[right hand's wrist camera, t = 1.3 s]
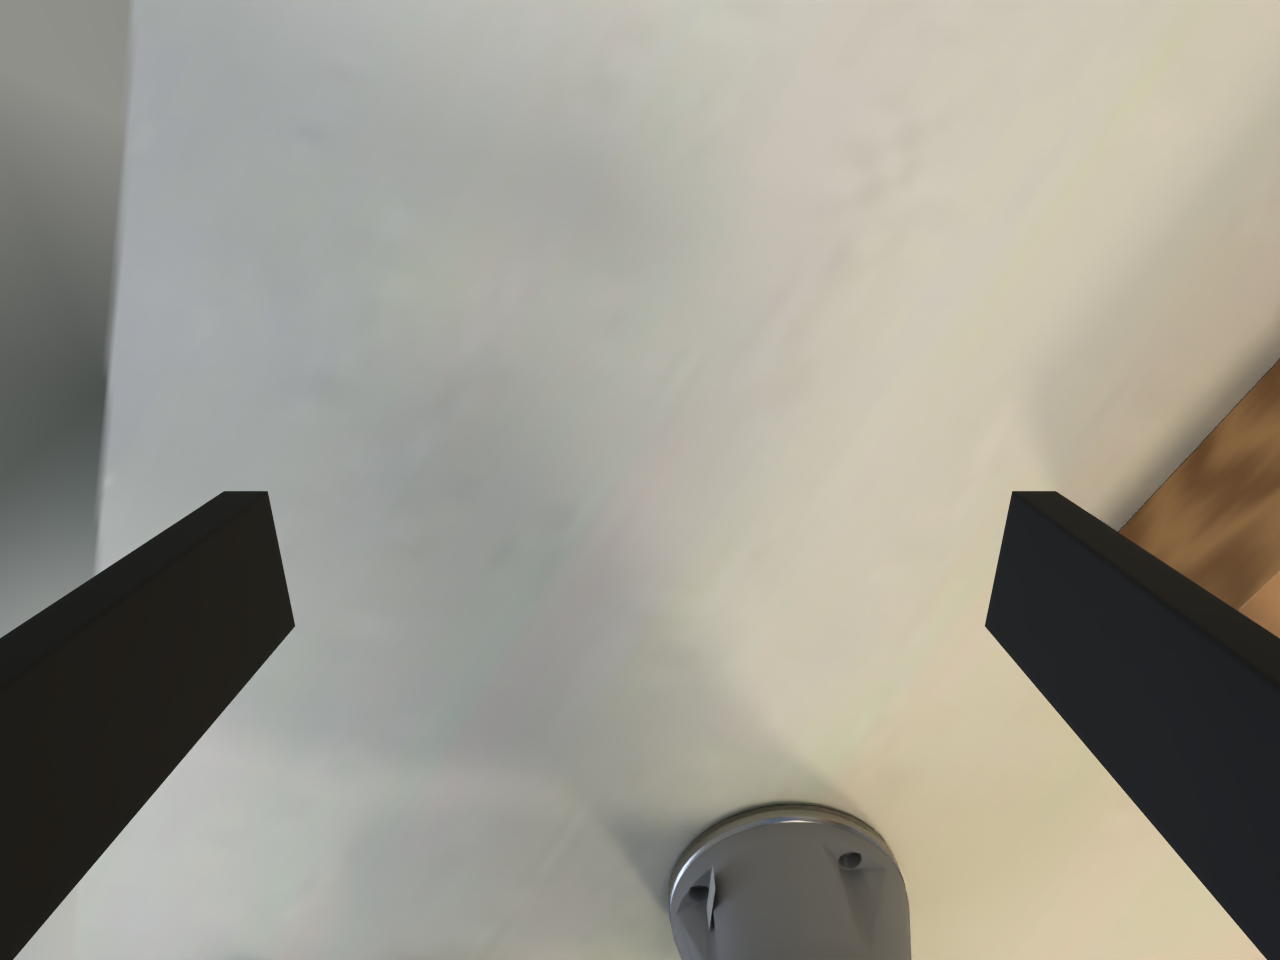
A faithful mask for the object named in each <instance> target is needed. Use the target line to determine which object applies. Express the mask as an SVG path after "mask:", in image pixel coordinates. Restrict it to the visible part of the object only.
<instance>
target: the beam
mask: <svg viewBox="0 0 1280 960" xmlns="http://www.w3.org/2000/svg"><path fill="white" fill-rule="evenodd" d="M1119 533H1120V534H1122V535H1123V536H1125V537H1126V538H1128V539H1129V540H1131V541H1132V542H1134V543H1135V544H1137V545H1138V546H1140V547H1141V548H1143V549H1144V550H1146V551H1147V552H1149V553H1150V554H1152V555H1154V556H1155V557H1157V558H1158V559H1160V560H1161V561H1163V562H1164V563H1166V564H1167V565H1169V566H1170V567H1172V568H1173V569H1175V570H1176V571H1178V572H1179V573H1181V574H1182V575H1184V576H1185V577H1187V578H1189V579H1190V580H1192V581H1193V582H1195V583H1196V584H1198V585H1199V586H1201V587H1202V588H1204V589H1205V590H1207V591H1208V592H1210V593H1211V594H1213V595H1214V596H1216V597H1217V598H1219V599H1221V600H1222V601H1224V602H1225V603H1227V604H1228V605H1230V606H1231V607H1233V608H1234V609H1236V610H1237V611H1239V612H1240V613H1242V614H1243V615H1245V616H1246V617H1248V618H1249V619H1251V620H1252V621H1254V622H1256V623H1257V624H1259V625H1260V626H1262V627H1263V628H1265V629H1266V630H1268V631H1269V632H1271V633H1272V634H1274V635H1275V636H1277V637H1278V638H1280V360H1279V361H1278V362H1277V363H1276V364H1275V365H1274V366H1273V367H1272V368H1271V370H1270V371H1269V372H1268V373H1267V374H1266V375H1265V376H1264V377H1263V378H1262V379H1261V380H1260V381H1259V382H1258V383H1257V385H1256V386H1255V387H1254V388H1253V389H1252V390H1251V391H1250V392H1249V393H1248V394H1247V395H1246V396H1245V397H1244V398H1243V400H1242V401H1241V402H1240V403H1239V404H1238V405H1237V406H1236V407H1235V408H1234V409H1233V410H1232V411H1231V412H1230V413H1229V415H1228V416H1227V417H1226V418H1225V419H1224V420H1223V421H1222V422H1221V423H1220V424H1219V425H1218V426H1217V427H1216V428H1215V430H1214V431H1213V432H1212V433H1211V434H1210V435H1209V436H1208V437H1207V438H1206V439H1205V440H1204V441H1203V442H1202V443H1201V445H1200V446H1199V447H1198V448H1197V449H1196V450H1195V451H1194V452H1193V453H1192V454H1191V455H1190V456H1189V457H1188V458H1187V460H1186V461H1185V462H1184V463H1183V464H1182V465H1181V466H1180V467H1179V468H1178V469H1177V470H1176V471H1175V472H1174V473H1173V474H1172V476H1171V477H1170V478H1169V479H1168V480H1167V481H1166V482H1165V483H1164V484H1163V485H1162V486H1161V487H1160V488H1159V489H1158V491H1157V492H1156V493H1155V494H1154V495H1153V496H1152V497H1151V498H1150V499H1149V500H1148V501H1147V502H1146V503H1145V504H1144V506H1143V507H1142V508H1141V509H1140V510H1139V511H1138V512H1137V513H1136V514H1135V515H1134V516H1133V517H1132V518H1131V519H1130V521H1129V522H1128V523H1127V524H1126V525H1125V526H1124V527H1123V528H1122V529H1121V530H1120V531H1119Z"/></svg>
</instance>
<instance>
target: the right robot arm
mask: <svg viewBox="0 0 1280 960" xmlns="http://www.w3.org/2000/svg"><path fill="white" fill-rule="evenodd" d="M294 627H295V623H294V618H293V613H292V609H291V604H290V599H289V594H288V589H287V584H286V579H285V574H284V569H283V564H282V559H281V555H280V550H279V545H278V540H277V535H276V530H275V525H274V520H273V515H272V510H271V505H270V501H269V496H268V491H224V492H222V493H221V494H219V495H218V496H216V497H215V498H213V499H212V500H210V501H209V502H207V503H206V504H204V505H203V506H201V507H200V508H198V509H197V510H195V511H193V512H192V513H190V514H189V515H187V516H186V517H184V518H183V519H181V520H180V521H178V522H177V523H175V524H174V525H172V526H171V527H169V528H168V529H166V530H165V531H163V532H162V533H160V534H158V535H157V536H155V537H154V538H152V539H151V540H149V541H148V542H146V543H145V544H143V545H142V546H140V547H139V548H137V549H136V550H134V551H133V552H131V553H130V554H128V555H126V556H125V557H123V558H122V559H120V560H119V561H117V562H116V563H114V564H113V565H111V566H110V567H108V568H107V569H105V570H104V571H102V572H101V573H99V574H98V575H96V576H95V577H93V578H91V579H90V580H88V581H87V582H85V583H84V584H82V585H81V586H79V587H78V588H76V589H75V590H73V591H72V592H70V593H69V594H67V595H66V596H64V597H63V598H61V599H59V600H58V601H57V602H55V603H53V604H52V605H50V606H49V607H47V608H46V609H44V610H43V611H41V612H40V613H38V614H37V615H35V616H34V617H32V618H31V619H29V620H28V621H26V622H24V623H23V624H21V625H20V626H18V627H17V628H15V629H14V630H12V631H11V632H9V633H8V634H6V635H5V636H3V637H2V638H0V960H13V959H14V958H15V957H16V955H17V954H18V953H19V952H20V951H21V950H22V948H23V947H24V946H25V945H26V944H27V942H28V941H29V940H30V939H31V938H32V937H33V935H34V934H35V933H36V932H37V931H38V929H39V928H40V927H41V926H42V925H43V924H44V922H45V921H46V920H47V919H48V918H49V916H50V915H51V914H52V913H53V912H54V911H55V909H56V908H57V907H58V906H59V905H60V903H61V902H62V901H63V900H64V899H65V897H66V896H67V895H68V894H69V893H70V892H71V890H72V889H73V888H74V887H75V886H76V885H77V883H78V882H79V881H80V880H81V879H82V877H83V876H84V875H85V874H86V873H87V872H88V870H89V869H90V868H91V867H92V866H93V864H94V863H95V862H96V861H97V860H98V859H99V857H100V856H101V855H102V854H103V853H104V851H105V850H106V849H107V848H108V847H109V846H110V844H111V843H112V842H113V841H114V840H115V838H116V837H117V836H118V835H119V834H120V833H121V831H122V830H123V829H124V828H125V827H126V825H127V824H128V823H129V822H130V821H131V820H132V818H133V817H134V816H135V815H136V814H137V812H138V811H139V810H140V809H141V808H142V806H143V805H144V804H145V803H146V802H147V801H148V799H149V798H150V797H151V796H152V795H153V793H154V792H155V791H156V790H157V789H158V788H159V786H160V785H161V784H162V783H163V782H164V780H165V779H166V778H167V777H168V776H169V775H170V773H171V772H172V771H173V770H174V769H175V767H176V766H177V765H178V764H179V763H180V762H181V760H182V759H183V758H184V757H185V756H186V754H187V753H188V752H189V751H190V750H191V749H192V747H193V746H194V745H195V744H196V743H197V741H198V740H199V739H200V738H201V737H202V736H203V734H204V733H205V732H206V731H207V730H208V728H209V727H210V726H211V725H212V724H213V723H214V721H215V720H216V719H217V718H218V717H219V715H220V714H221V713H222V712H223V711H224V710H225V708H226V707H227V706H228V705H229V704H230V702H231V701H232V700H233V699H234V698H235V697H236V695H237V694H238V693H239V692H240V691H241V689H242V688H243V687H244V686H245V685H246V684H247V682H248V681H249V680H250V679H251V678H252V676H253V675H254V674H255V673H256V672H257V671H258V669H259V668H260V667H261V666H262V665H263V663H264V662H265V661H266V660H267V659H268V658H269V656H270V655H271V654H272V653H273V652H274V650H275V649H276V648H277V647H278V646H279V645H280V643H281V642H282V641H283V640H284V639H285V637H286V636H287V635H288V634H289V633H290V631H291V630H292V629H293V628H294ZM985 627H986V628H987V629H988V630H989V631H990V633H991V634H992V635H993V636H994V637H995V639H996V640H997V641H998V642H999V643H1000V645H1001V646H1002V647H1003V648H1004V649H1005V650H1006V652H1007V653H1008V654H1009V655H1010V656H1011V658H1012V659H1013V660H1014V661H1015V662H1016V663H1017V665H1018V666H1019V667H1020V668H1021V669H1022V671H1023V672H1024V673H1025V674H1026V675H1027V676H1028V678H1029V679H1030V680H1031V681H1032V682H1033V684H1034V685H1035V686H1036V687H1037V688H1038V689H1039V691H1040V692H1041V693H1042V694H1043V695H1044V697H1045V698H1046V699H1047V700H1048V701H1049V702H1050V704H1051V705H1052V706H1053V707H1054V708H1055V710H1056V711H1057V712H1058V713H1059V714H1060V715H1061V717H1062V718H1063V719H1064V720H1065V721H1066V723H1067V724H1068V725H1069V726H1070V727H1071V728H1072V730H1073V731H1074V732H1075V733H1076V734H1077V736H1078V737H1079V738H1080V739H1081V740H1082V741H1083V743H1084V744H1085V745H1086V746H1087V747H1088V749H1089V750H1090V751H1091V752H1092V753H1093V754H1094V756H1095V757H1096V758H1097V759H1098V760H1099V762H1100V763H1101V764H1102V765H1103V766H1104V767H1105V769H1106V770H1107V771H1108V772H1109V773H1110V775H1111V776H1112V777H1113V778H1114V779H1115V780H1116V782H1117V783H1118V784H1119V785H1120V786H1121V788H1122V789H1123V790H1124V791H1125V792H1126V793H1127V795H1128V796H1129V797H1130V798H1131V799H1132V801H1133V802H1134V803H1135V804H1136V805H1137V806H1138V808H1139V809H1140V810H1141V811H1142V812H1143V814H1144V815H1145V816H1146V817H1147V818H1148V820H1149V821H1150V822H1151V823H1152V824H1153V825H1154V827H1155V828H1156V829H1157V830H1158V831H1159V833H1160V834H1161V835H1162V836H1163V837H1164V838H1165V840H1166V841H1167V842H1168V843H1169V844H1170V846H1171V847H1172V848H1173V849H1174V850H1175V851H1176V853H1177V854H1178V855H1179V856H1180V857H1181V859H1182V860H1183V861H1184V862H1185V863H1186V864H1187V866H1188V867H1189V868H1190V869H1191V870H1192V872H1193V873H1194V874H1195V875H1196V876H1197V877H1198V879H1199V880H1200V881H1201V882H1202V883H1203V885H1204V886H1205V887H1206V888H1207V889H1208V890H1209V892H1210V893H1211V894H1212V895H1213V896H1214V898H1215V899H1216V900H1217V901H1218V902H1219V903H1220V905H1221V906H1222V907H1223V908H1224V909H1225V911H1226V912H1227V913H1228V914H1229V915H1230V916H1231V918H1232V919H1233V920H1234V921H1235V922H1236V924H1237V925H1238V926H1239V927H1240V928H1241V929H1242V931H1243V932H1244V933H1245V934H1246V935H1247V937H1248V938H1249V939H1250V940H1251V941H1252V942H1253V944H1254V945H1255V946H1256V947H1257V948H1258V950H1259V951H1260V952H1261V953H1262V954H1263V955H1264V957H1265V958H1266V959H1267V960H1280V638H1278V637H1277V636H1275V635H1274V634H1272V633H1271V632H1269V631H1268V630H1266V629H1265V628H1263V627H1262V626H1260V625H1259V624H1257V623H1256V622H1254V621H1252V620H1251V619H1249V618H1248V617H1246V616H1245V615H1243V614H1242V613H1240V612H1239V611H1237V610H1236V609H1234V608H1233V607H1231V606H1230V605H1228V604H1227V603H1225V602H1224V601H1222V600H1221V599H1219V598H1217V597H1216V596H1214V595H1213V594H1211V593H1210V592H1208V591H1207V590H1205V589H1204V588H1202V587H1201V586H1199V585H1198V584H1196V583H1195V582H1193V581H1192V580H1190V579H1189V578H1187V577H1185V576H1184V575H1182V574H1181V573H1179V572H1178V571H1176V570H1175V569H1173V568H1172V567H1170V566H1169V565H1167V564H1166V563H1164V562H1163V561H1161V560H1160V559H1158V558H1157V557H1155V556H1154V555H1152V554H1150V553H1149V552H1147V551H1146V550H1144V549H1143V548H1141V547H1140V546H1138V545H1137V544H1135V543H1134V542H1132V541H1131V540H1129V539H1128V538H1126V537H1125V536H1123V535H1122V534H1120V533H1119V532H1117V531H1115V530H1114V529H1112V528H1111V527H1109V526H1108V525H1106V524H1105V523H1103V522H1102V521H1100V520H1099V519H1097V518H1096V517H1094V516H1093V515H1091V514H1090V513H1088V512H1087V511H1085V510H1083V509H1082V508H1080V507H1079V506H1077V505H1076V504H1074V503H1073V502H1071V501H1070V500H1068V499H1067V498H1065V497H1064V496H1062V495H1061V494H1059V493H1058V492H1056V491H1012V496H1011V501H1010V505H1009V510H1008V515H1007V520H1006V525H1005V530H1004V535H1003V540H1002V545H1001V550H1000V555H999V559H998V564H997V569H996V574H995V579H994V584H993V589H992V594H991V599H990V604H989V609H988V613H987V618H986V623H985ZM669 911H670V921H671V926H672V932H673V936H674V940H675V943H676V946H677V949H678V951H679V954H680V957H681V959H682V960H911V938H910V914H909V902H908V897H907V892H906V889H905V884H904V880H903V877H902V875H901V872H900V870H899V867H898V864H897V862H896V859H895V857H894V855H893V853H892V851H891V850H890V848H889V847H888V845H887V844H886V843H885V841H884V840H883V839H882V838H881V837H880V836H879V835H878V834H877V833H876V832H875V831H874V830H872V829H871V828H870V827H868V826H867V825H865V824H864V823H862V822H860V821H859V820H857V819H855V818H853V817H850V816H848V815H846V814H843V813H840V812H837V811H834V810H830V809H826V808H821V807H816V806H806V805H779V806H770V807H764V808H759V809H754V810H751V811H747V812H744V813H741V814H738V815H735V816H733V817H730V818H728V819H726V820H724V821H722V822H720V823H718V824H716V825H714V826H713V827H711V828H710V829H708V830H707V831H705V832H704V833H703V834H701V835H700V836H699V837H698V838H696V839H695V840H694V841H693V842H692V843H691V844H690V845H689V846H688V848H687V849H686V850H685V851H684V852H683V854H682V855H681V857H680V858H679V860H678V862H677V864H676V866H675V868H674V870H673V873H672V876H671V880H670V884H669Z"/></svg>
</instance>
